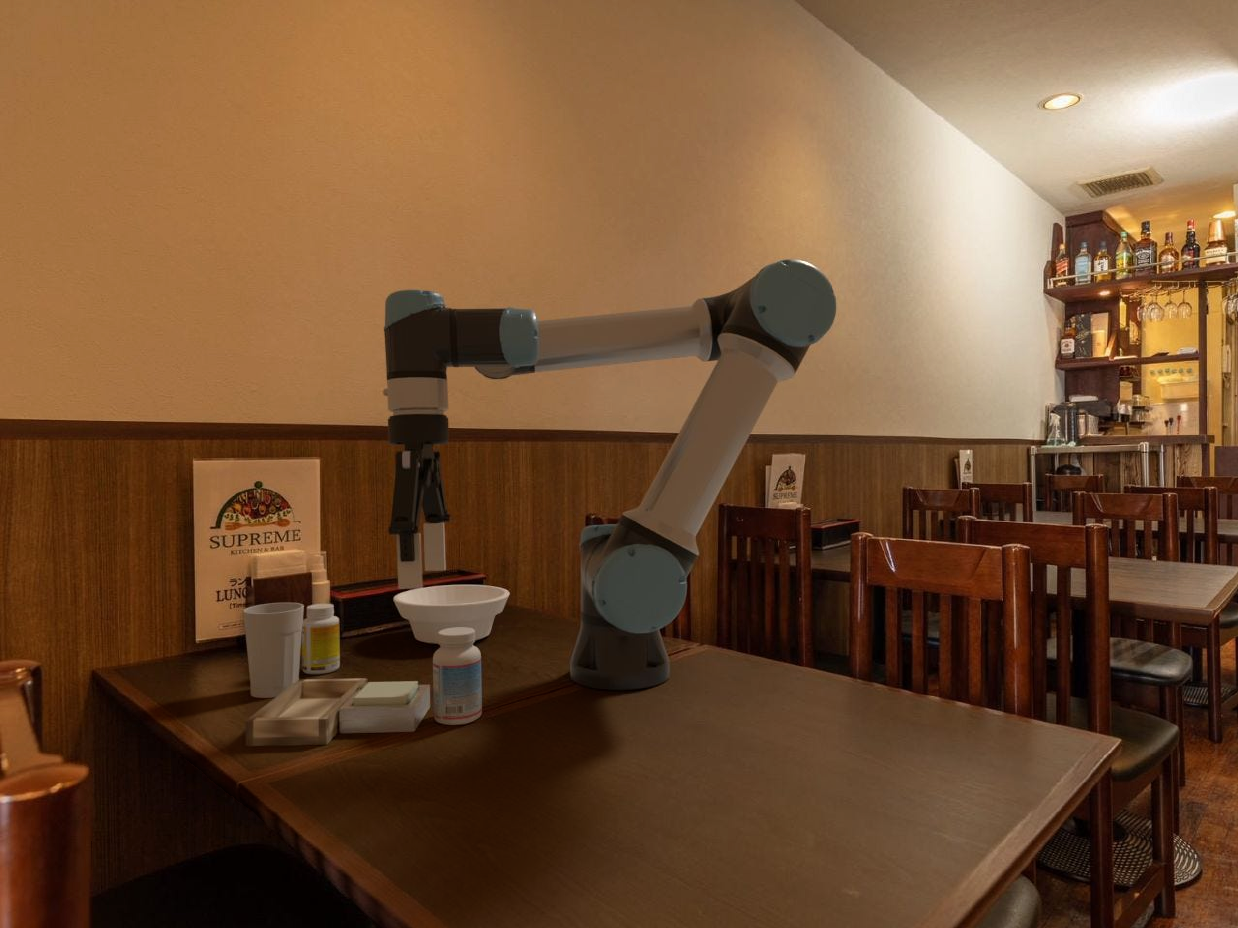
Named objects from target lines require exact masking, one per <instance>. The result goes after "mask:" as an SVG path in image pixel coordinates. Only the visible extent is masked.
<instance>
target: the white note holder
mask: <svg viewBox="0 0 1238 928" xmlns="http://www.w3.org/2000/svg"><path fill="white" fill-rule="evenodd" d="M368 683H369V682H367V683H364V684H360V685H359V688H360V689H359V690H358V691H357V692H356V693H355V694H354V695H353V696H352V697H351V698H350V699H349V700H348V701H347V702H346V703H345V704H344V705H343V706H342V707H341V708H340V709H339V716H340V730H339V734H368V733H373V734H374V733H377V734H378V733H409V732H410V733H411V732H412V733H413V732H415V731H416V729H417V728H418V727H419V725H420V724H421V722H422V721H423V719H424V717H425V716H426V714H427V712H428V711H429V709H430V708H431V684H418V691H417V692H416V693H415V695H414V696H413V698H412V699H411V700H410V702H409V703H408V704H407V705H370V706H354V697H355V696H356V695H357V694H358V693H359V692H360V691H361V690H362V689H363V688H364V687H365V686H366V685H367V684H368Z"/></svg>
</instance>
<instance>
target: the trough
mask: <svg viewBox="0 0 1238 928" xmlns="http://www.w3.org/2000/svg"><path fill="white" fill-rule="evenodd" d="M364 683H368V678H367V677H363V678H359V677H357V678H356V677H355V678H314V679H313V678H311V679H309V678H308V679H307V678H306V679H299V680H298V681H297V682H295V683H294V684H293V685H291V686H290V687H289V688H287V689H286V690H285V691H284V692H282V693H281V694H280V695H278V696H277V697H273V699H272V700H271V701H268V703H267V704H266V705H263V707H262V708H259V710H257V711H256V712H255V713H253V714H252V715H251V716H250V717H248V718H247V719H246V720H244V721H245V747H280V746H283V747H284V746H319V745H321V746H322V745H323V746H324V745H325V746H326V745H328V744H329V742H331V740H332V739H334V737H335V736H336V735H337V734H338V732H339V733H340V716H339V709H340V708H341V707H342V706H343V705H344V704H345V703H346V702H347V701H348V700H349V699H350V698H351V697H352V696H353V695H354V694H355V693H356V692H357V691H358V690H359V689H360V688H359V685H360V684H364Z"/></svg>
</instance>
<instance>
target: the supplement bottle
mask: <svg viewBox="0 0 1238 928" xmlns="http://www.w3.org/2000/svg"><path fill="white" fill-rule="evenodd" d="M334 607H335V606H334V604H333V603H315V604H311V605H307V606H306V618H303V624H302V632H301V667H302V668H301V670H302V672H303V673H304V674H308V675H324V674H329V673H332V672H335V671H337V670H338V669H339V668H340V666H341V653H340V651H341V649H340V646H341V645H340V644H341V643H340V618H339V617H338V616H336V615H334V614H335V609H334Z"/></svg>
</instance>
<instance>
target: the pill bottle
mask: <svg viewBox="0 0 1238 928" xmlns="http://www.w3.org/2000/svg"><path fill="white" fill-rule="evenodd" d="M475 641H476V640H475V630H474V629H472V628H468V627H454V628H447V629H443V630H441V631H439V632H438V642H439V644H438V645H439V646H440V647H439V648H438V649H436V650H435V651H434V653H433V657H432V677H433V678H432V681H433V683H432V684H433V687H432V689H433V719H434V721H436V722H437V723H439V724H442V725H447V726H457V725H458V726H460V725H467V724H469V723H472V722H475V721H476V720H477V719H479V718H480V717H481V716H482V714H483V700H482V699H483V695H482V694H483V693H482V692H483V691H482V656H481V655H482V654H481V651H480V649H479V648H478V647H477V646H475V645H474V643H475Z"/></svg>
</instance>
